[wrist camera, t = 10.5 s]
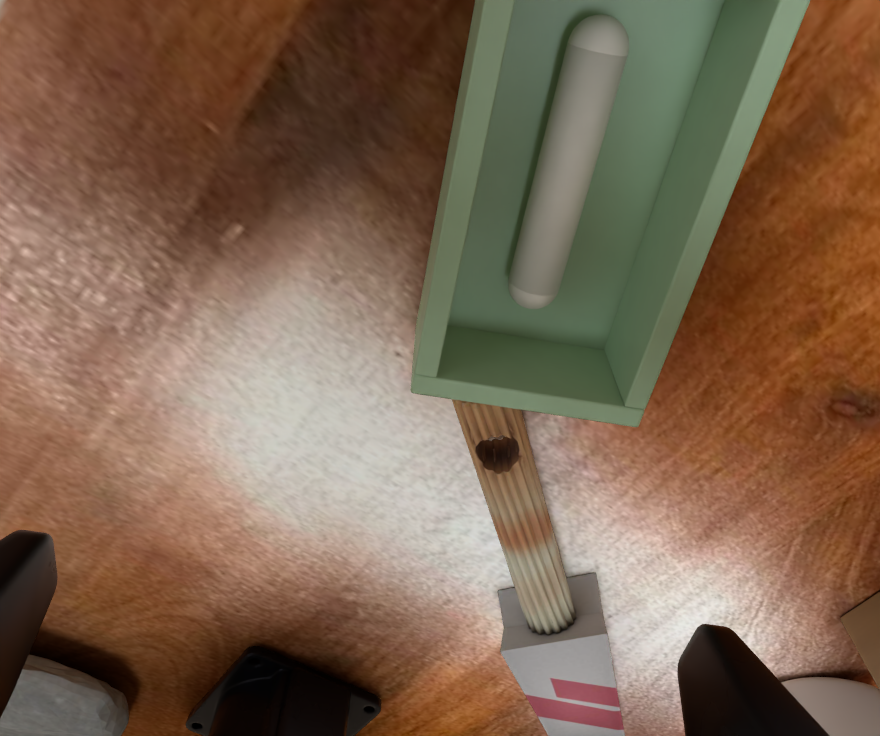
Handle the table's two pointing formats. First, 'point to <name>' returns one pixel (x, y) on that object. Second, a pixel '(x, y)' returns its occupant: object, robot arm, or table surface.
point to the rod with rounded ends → (568, 157)
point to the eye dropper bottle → (839, 704)
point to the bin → (590, 199)
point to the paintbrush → (541, 587)
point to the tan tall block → (866, 633)
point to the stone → (62, 703)
